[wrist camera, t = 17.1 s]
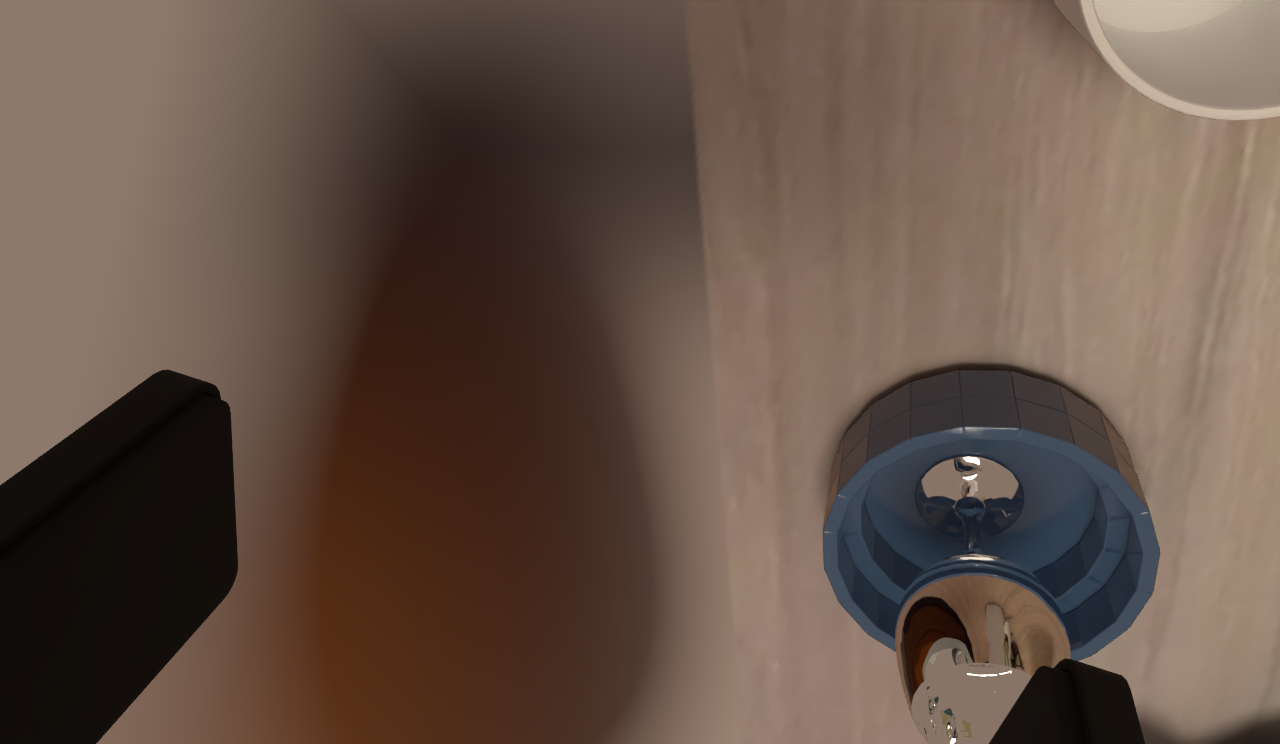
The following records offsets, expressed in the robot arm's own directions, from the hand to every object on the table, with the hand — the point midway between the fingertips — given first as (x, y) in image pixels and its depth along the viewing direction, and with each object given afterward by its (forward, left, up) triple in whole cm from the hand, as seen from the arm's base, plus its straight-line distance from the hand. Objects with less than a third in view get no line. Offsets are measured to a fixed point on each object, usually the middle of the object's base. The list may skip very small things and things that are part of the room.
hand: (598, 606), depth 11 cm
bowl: (+11, -15, -28) cm, 34 cm away
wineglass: (+11, -15, -28) cm, 33 cm away
